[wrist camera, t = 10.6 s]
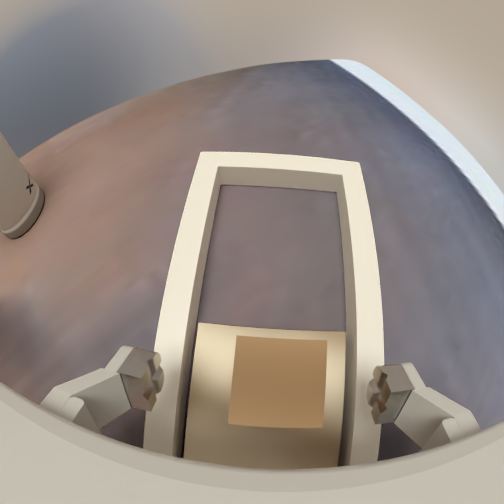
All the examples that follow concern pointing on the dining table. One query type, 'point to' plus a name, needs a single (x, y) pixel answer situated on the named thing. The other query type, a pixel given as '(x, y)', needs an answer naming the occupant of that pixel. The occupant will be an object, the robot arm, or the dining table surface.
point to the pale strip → (266, 397)
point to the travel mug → (17, 194)
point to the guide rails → (192, 272)
